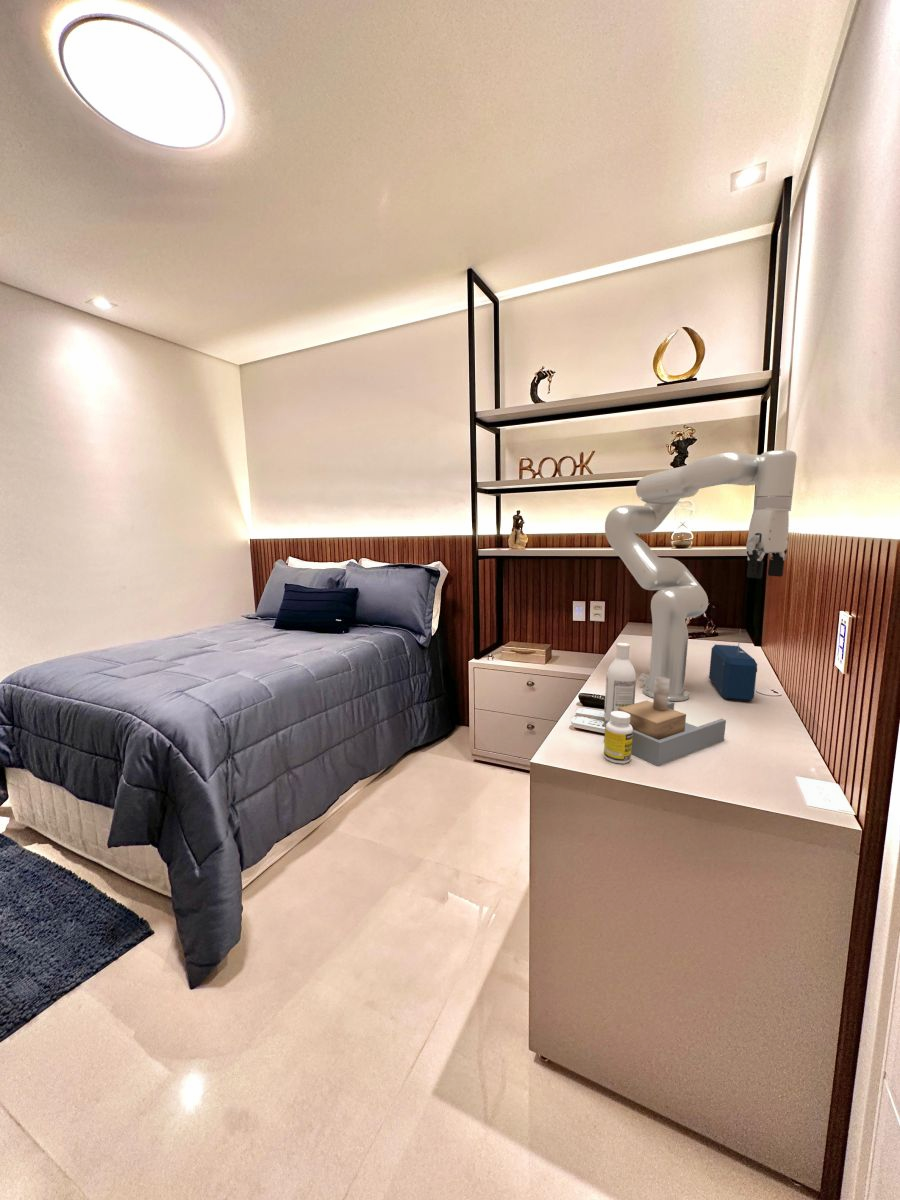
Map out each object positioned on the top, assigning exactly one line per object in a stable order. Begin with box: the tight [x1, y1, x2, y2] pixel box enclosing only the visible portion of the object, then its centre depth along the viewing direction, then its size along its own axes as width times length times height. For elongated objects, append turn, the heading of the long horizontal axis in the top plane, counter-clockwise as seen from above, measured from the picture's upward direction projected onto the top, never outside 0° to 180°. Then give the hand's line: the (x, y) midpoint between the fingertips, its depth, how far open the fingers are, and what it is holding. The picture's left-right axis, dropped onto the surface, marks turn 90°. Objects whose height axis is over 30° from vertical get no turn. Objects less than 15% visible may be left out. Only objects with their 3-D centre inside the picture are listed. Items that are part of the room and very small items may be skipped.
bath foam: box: [603, 642, 637, 720], centre depth 124 cm, size 7×7×20 cm
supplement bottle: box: [603, 711, 633, 764], centre depth 105 cm, size 5×5×10 cm
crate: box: [618, 676, 687, 740], centre depth 111 cm, size 10×10×14 cm
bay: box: [603, 701, 727, 767], centre depth 115 cm, size 14×24×5 cm, turn 122°
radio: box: [708, 628, 758, 702], centre depth 149 cm, size 21×9×20 cm, turn 164°
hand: (764, 576), depth 122 cm, fingers open, 9 cm apart
